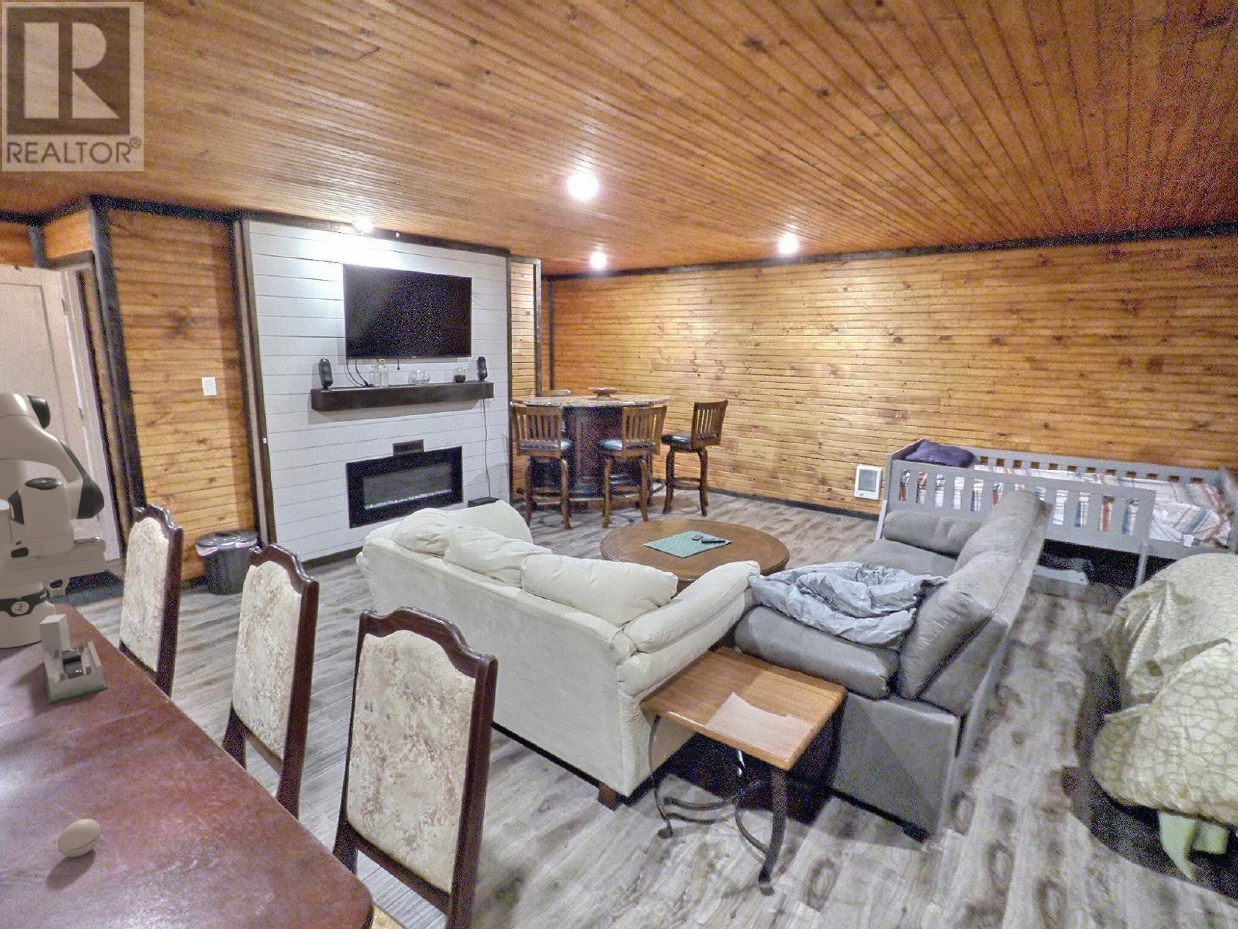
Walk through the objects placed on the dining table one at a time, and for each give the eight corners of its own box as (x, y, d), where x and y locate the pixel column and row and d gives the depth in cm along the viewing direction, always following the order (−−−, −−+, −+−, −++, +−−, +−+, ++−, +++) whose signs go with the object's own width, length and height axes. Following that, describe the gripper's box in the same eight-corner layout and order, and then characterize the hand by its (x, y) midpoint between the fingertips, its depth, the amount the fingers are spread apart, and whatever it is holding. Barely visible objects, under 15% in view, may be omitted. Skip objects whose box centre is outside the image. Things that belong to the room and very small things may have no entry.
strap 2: (83, 674, 157) (83, 670, 157) (67, 678, 155) (67, 674, 155) (80, 663, 162) (79, 659, 162) (65, 666, 160) (64, 663, 160)
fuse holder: (43, 673, 166) (39, 649, 165) (96, 660, 174) (94, 637, 173) (49, 704, 152) (45, 679, 150) (107, 688, 159) (104, 664, 158)
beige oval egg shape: (57, 871, 103) (53, 840, 102) (61, 849, 108) (58, 820, 107) (117, 850, 108) (113, 821, 107) (118, 830, 112) (115, 802, 111)
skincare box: (52, 656, 176) (47, 615, 174) (72, 653, 177) (66, 613, 175) (43, 665, 170) (38, 623, 168) (64, 662, 172) (58, 621, 170)
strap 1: (61, 654, 167) (61, 651, 167) (76, 651, 169) (76, 647, 169) (64, 662, 162) (63, 659, 161) (79, 659, 164) (78, 655, 164)
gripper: (103, 533, 166) (108, 582, 168) (-6, 547, 152) (1, 601, 154) (106, 538, 162) (111, 589, 164) (-5, 554, 147) (2, 610, 150)
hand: (57, 595), depth 159 cm, fingers closed
